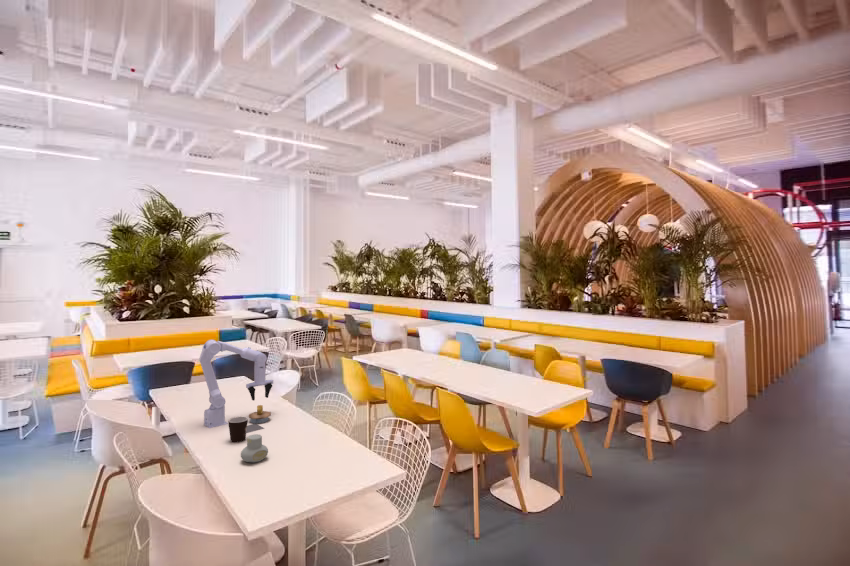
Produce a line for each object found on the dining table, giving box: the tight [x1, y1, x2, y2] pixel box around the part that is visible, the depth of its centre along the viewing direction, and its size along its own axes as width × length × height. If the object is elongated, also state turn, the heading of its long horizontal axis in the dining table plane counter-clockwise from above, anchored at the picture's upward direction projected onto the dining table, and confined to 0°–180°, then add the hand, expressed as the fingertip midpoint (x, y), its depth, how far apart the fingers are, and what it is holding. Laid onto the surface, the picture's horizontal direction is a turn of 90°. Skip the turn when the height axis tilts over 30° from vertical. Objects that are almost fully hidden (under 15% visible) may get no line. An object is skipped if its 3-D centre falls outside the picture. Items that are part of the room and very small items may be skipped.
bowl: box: [249, 416, 270, 424], centre depth 236 cm, size 9×9×3 cm
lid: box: [248, 404, 272, 419], centre depth 235 cm, size 11×11×5 cm
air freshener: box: [240, 433, 269, 464], centre depth 187 cm, size 11×8×10 cm
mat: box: [246, 423, 265, 434], centre depth 224 cm, size 10×10×1 cm
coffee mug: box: [227, 416, 249, 443], centre depth 210 cm, size 12×9×10 cm
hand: (260, 398), depth 243 cm, fingers open, 7 cm apart
